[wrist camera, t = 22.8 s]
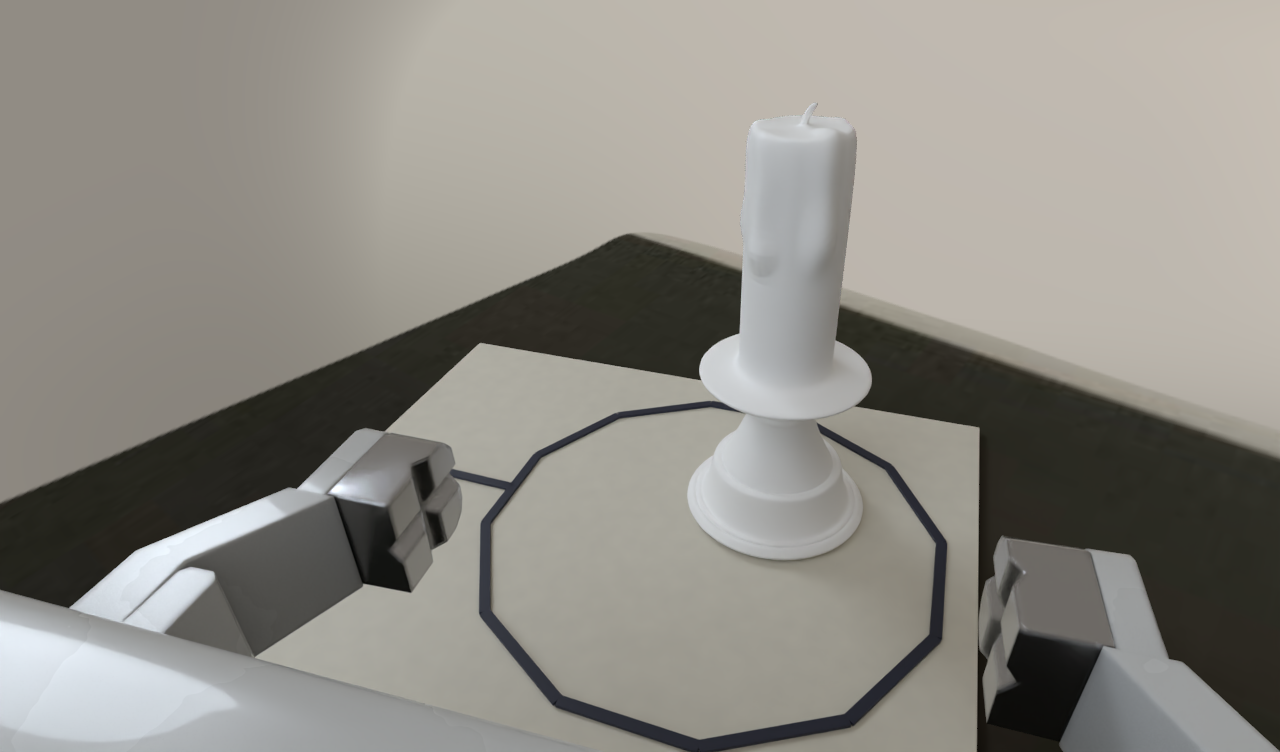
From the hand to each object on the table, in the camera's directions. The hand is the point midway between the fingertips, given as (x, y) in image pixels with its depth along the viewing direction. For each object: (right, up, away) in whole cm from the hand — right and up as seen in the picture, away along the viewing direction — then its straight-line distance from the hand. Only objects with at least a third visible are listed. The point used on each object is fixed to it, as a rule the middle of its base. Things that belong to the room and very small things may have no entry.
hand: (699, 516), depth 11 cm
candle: (+3, -2, +13) cm, 13 cm away
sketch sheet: (-1, -2, +12) cm, 12 cm away
